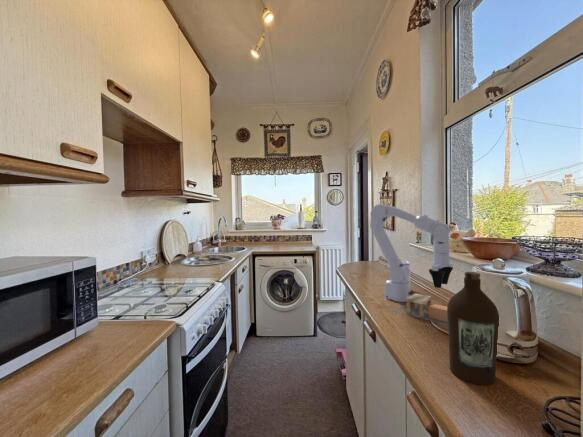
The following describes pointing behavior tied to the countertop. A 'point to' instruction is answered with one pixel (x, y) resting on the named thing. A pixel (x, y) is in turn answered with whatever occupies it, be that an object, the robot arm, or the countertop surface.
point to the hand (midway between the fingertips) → (441, 285)
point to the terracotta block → (438, 312)
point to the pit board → (417, 314)
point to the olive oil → (473, 333)
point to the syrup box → (408, 275)
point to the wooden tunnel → (417, 299)
